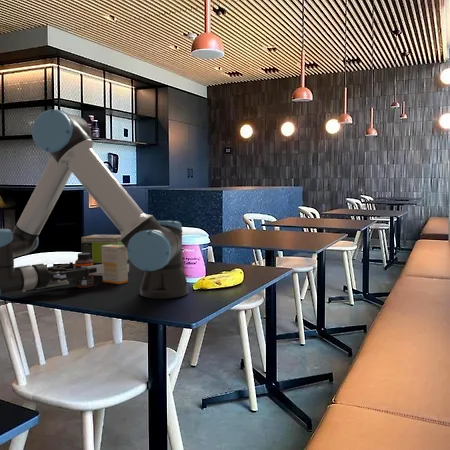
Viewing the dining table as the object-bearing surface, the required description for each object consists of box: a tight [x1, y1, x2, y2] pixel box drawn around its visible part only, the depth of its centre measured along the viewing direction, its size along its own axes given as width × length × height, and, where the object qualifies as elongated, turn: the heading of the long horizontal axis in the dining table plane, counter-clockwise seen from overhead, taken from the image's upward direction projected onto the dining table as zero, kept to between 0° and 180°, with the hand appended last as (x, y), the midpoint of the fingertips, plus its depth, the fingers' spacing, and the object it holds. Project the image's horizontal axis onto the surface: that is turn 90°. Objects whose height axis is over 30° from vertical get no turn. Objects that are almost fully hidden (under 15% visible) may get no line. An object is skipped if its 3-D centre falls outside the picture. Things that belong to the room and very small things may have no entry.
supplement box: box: [101, 244, 129, 285], centre depth 174 cm, size 8×5×13 cm, turn 56°
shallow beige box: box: [36, 279, 70, 290], centre depth 172 cm, size 12×11×3 cm
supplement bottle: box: [74, 252, 95, 289], centre depth 167 cm, size 6×6×11 cm
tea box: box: [80, 234, 130, 277], centre depth 189 cm, size 15×10×15 cm, turn 76°
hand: (97, 266), depth 171 cm, fingers open, 7 cm apart
